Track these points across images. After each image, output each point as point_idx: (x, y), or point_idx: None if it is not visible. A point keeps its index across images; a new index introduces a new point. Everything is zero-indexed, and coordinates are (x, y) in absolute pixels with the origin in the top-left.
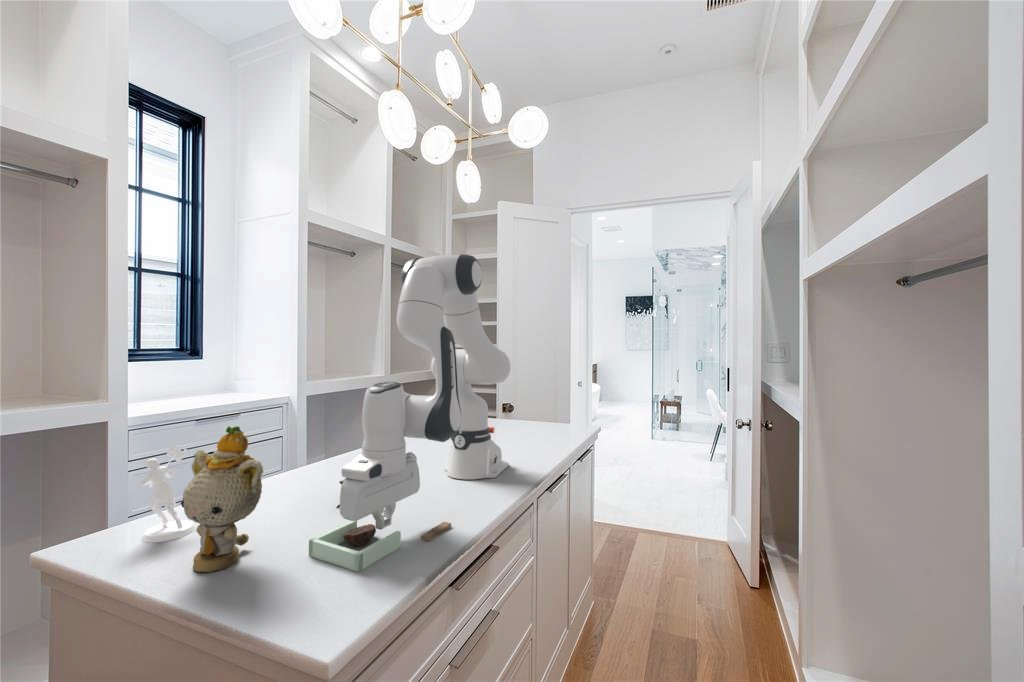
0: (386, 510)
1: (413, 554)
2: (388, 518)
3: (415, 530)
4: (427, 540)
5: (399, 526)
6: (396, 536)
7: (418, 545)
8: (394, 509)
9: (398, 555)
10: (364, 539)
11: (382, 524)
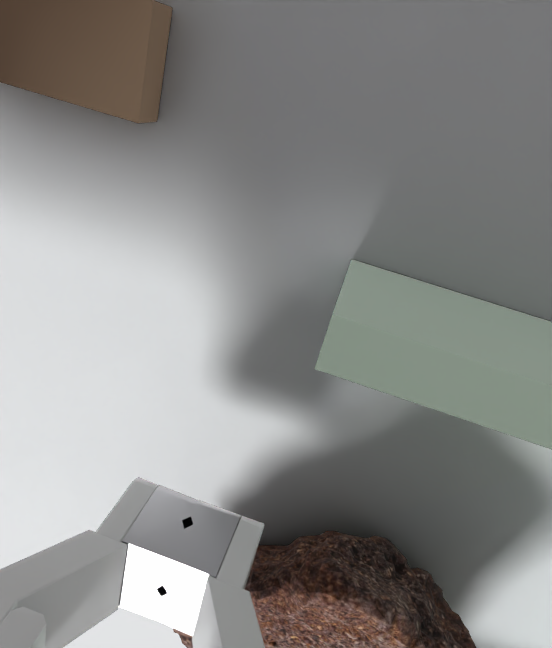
0: (57, 634)
1: (508, 38)
2: (144, 547)
3: (20, 256)
4: (168, 25)
5: (15, 407)
6: (410, 326)
7: (286, 85)
8: (7, 569)
9: (542, 202)
10: (419, 587)
11: (247, 555)
